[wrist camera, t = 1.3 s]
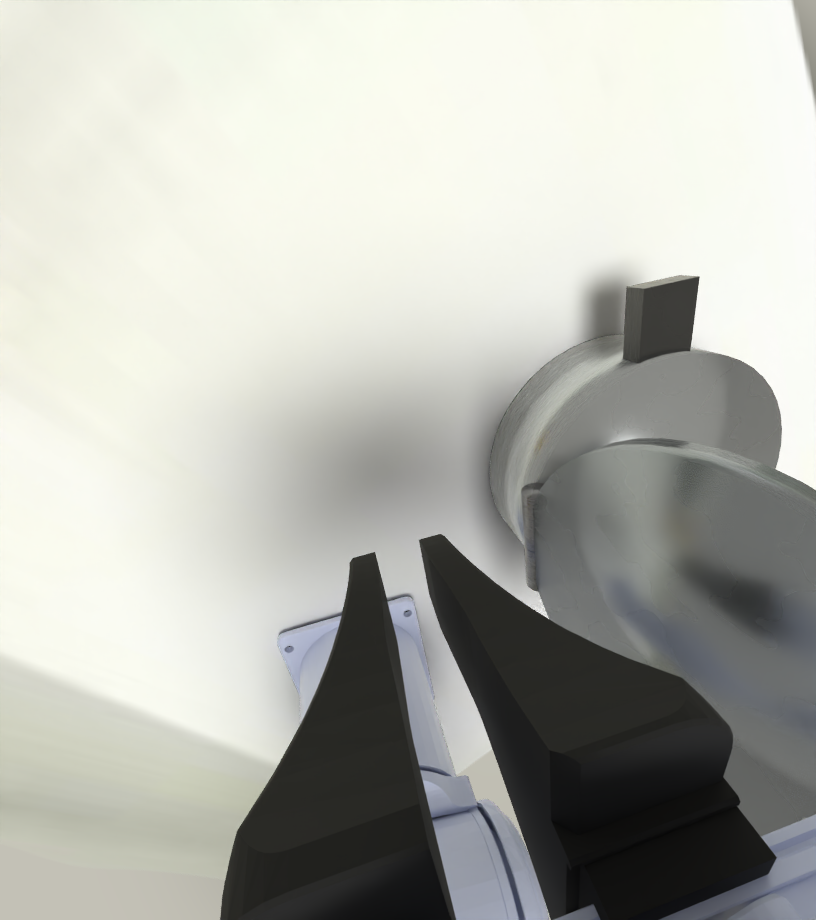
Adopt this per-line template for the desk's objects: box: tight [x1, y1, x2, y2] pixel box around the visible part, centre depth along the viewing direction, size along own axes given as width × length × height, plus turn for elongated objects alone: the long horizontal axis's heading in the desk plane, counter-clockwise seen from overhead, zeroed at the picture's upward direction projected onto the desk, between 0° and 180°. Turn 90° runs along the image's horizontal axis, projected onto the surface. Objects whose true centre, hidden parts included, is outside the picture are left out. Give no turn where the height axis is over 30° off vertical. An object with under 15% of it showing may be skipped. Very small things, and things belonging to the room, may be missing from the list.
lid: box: [521, 438, 816, 836], centre depth 13 cm, size 13×17×1 cm
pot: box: [489, 275, 782, 545], centre depth 23 cm, size 19×13×5 cm
